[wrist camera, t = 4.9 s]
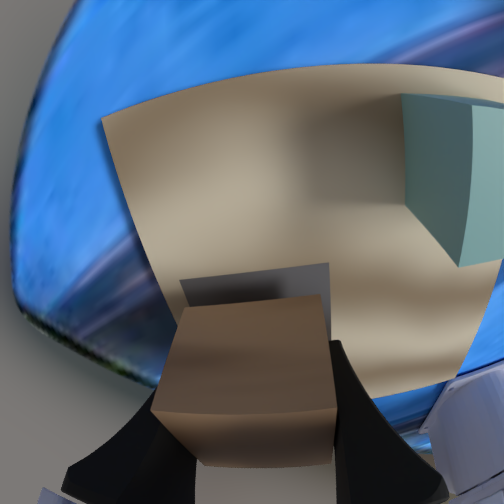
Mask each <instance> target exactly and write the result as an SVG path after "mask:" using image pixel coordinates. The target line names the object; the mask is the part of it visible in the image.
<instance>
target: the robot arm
mask: <svg viewBox="0 0 504 504" xmlns="http://www.w3.org/2000/svg"><path fill="white" fill-rule="evenodd" d="M328 343H329V350H330V357H331V364H332V371H333V378H334V386H335V394H336V402H337V415H336V426H335V436H334V449H335V466H336V495H337V504H441V503H443V502H445V501H447V500H448V499H449V492H450V493H453V494H456V496H459V495H461V496H459V497H457V498H455V499H452V500H451V501H449V504H504V360H503V361H500V362H498V363H495V364H493V365H490V366H487V367H485V368H482V369H479V370H476V371H474V372H471V373H468V374H465V375H462V376H459V377H456V378H454V379H451V380H449V381H448V382H447V383H446V385H445V387H444V389H443V391H442V392H441V394H440V396H439V398H438V400H437V401H436V403H435V405H434V406H433V408H432V410H431V411H430V413H429V415H428V416H427V418H426V419H425V421H424V423H423V424H422V426H421V427H420V429H419V430H418V431H419V434H423V433H427V432H428V434H429V438H430V442H431V447H432V451H433V455H434V460H435V465H436V470H437V471H436V470H435V469H434V468H433V467H431V466H430V465H429V464H428V463H427V462H426V461H425V460H423V459H422V458H421V457H420V456H419V455H418V454H417V453H416V452H415V451H414V450H413V449H412V448H411V447H410V446H409V445H408V444H407V443H406V442H405V441H404V440H403V439H402V438H401V436H400V435H399V434H398V433H397V432H396V431H395V430H394V429H393V427H392V426H391V425H390V424H389V423H388V421H387V420H386V419H385V417H384V416H383V415H382V414H381V412H380V411H379V409H378V408H377V407H376V405H375V404H374V402H373V401H372V399H371V398H370V396H369V395H368V393H367V392H366V390H365V389H364V387H363V385H362V383H361V382H360V380H359V378H358V377H357V375H356V373H355V371H354V369H353V368H352V366H351V364H350V362H349V360H348V358H347V355H346V353H345V351H344V348H343V346H342V343H341V341H340V340H331V341H328ZM157 387H158V386H157ZM157 387H156V389H155V390H154V392H153V393H152V394H151V396H150V397H149V398H148V399H147V401H146V402H145V403H144V404H143V406H142V407H141V408H140V409H139V411H138V412H137V413H136V414H135V415H134V416H133V418H132V419H131V420H130V421H129V422H128V423H127V424H126V425H125V426H124V427H123V428H122V429H121V430H119V431H118V432H117V433H116V434H115V435H114V436H113V437H112V438H111V439H110V440H109V441H107V442H106V443H105V444H103V445H102V446H101V447H99V448H98V449H97V450H95V451H94V452H93V453H91V454H90V455H88V456H87V457H85V458H84V459H82V460H80V461H79V462H77V463H75V464H73V465H72V466H70V467H68V470H67V472H66V476H65V478H64V481H63V484H62V487H61V491H62V492H64V493H66V494H68V495H70V496H72V497H74V498H76V499H78V500H80V501H82V502H84V503H87V504H195V477H196V463H197V458H196V457H195V456H194V455H193V454H192V453H191V452H190V451H188V450H187V449H186V448H185V447H184V446H183V445H182V444H181V443H180V442H179V441H178V440H177V439H176V438H175V437H174V436H173V434H172V433H171V432H170V431H169V430H168V429H167V428H166V427H165V426H164V425H163V424H162V423H161V422H160V421H159V420H158V418H157V417H156V416H155V415H154V414H153V413H152V412H151V411H150V409H151V406H152V403H153V400H154V396H155V393H156V390H157ZM462 494H463V495H462ZM37 504H76V503H74V502H72V501H70V500H67V499H65V498H63V497H61V496H59V495H57V494H55V493H53V492H52V491H49V490H48V489H46V488H42V491H41V494H40V497H39V500H38V503H37Z"/></svg>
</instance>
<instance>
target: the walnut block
mask: <svg viewBox="0 0 504 504" xmlns="http://www.w3.org/2000/svg"><path fill="white" fill-rule="evenodd" d="M150 411H151V412H152V413H153V414H154V415H155V416H156V417H157V418H158V420H159V421H160V422H161V423H162V424H163V425H164V426H165V427H166V428H167V429H168V430H169V431H170V432H171V433H172V434H173V436H174V437H175V438H176V439H177V440H178V441H179V442H180V443H181V444H182V445H183V446H184V447H185V448H186V449H187V450H188V451H190V452H191V453H192V454H193V455H194V456H195V457H196V458H197V459H198V460H199V461H200V462H201V463H202V464H203V465H205V466H214V467H231V468H284V467H301V466H312V465H323V464H331V460H332V453H333V445H334V436H335V426H336V415H337V402H336V394H335V386H334V378H333V371H332V364H331V357H330V350H329V343H328V337H327V330H326V324H325V318H324V312H323V306H322V301H321V295H320V294H315V295H307V296H299V297H291V298H282V299H273V300H263V301H253V302H243V303H233V304H221V305H209V306H197V307H185V308H184V310H183V313H182V316H181V319H180V322H179V325H178V327H177V330H176V333H175V336H174V339H173V342H172V345H171V348H170V351H169V354H168V357H167V360H166V363H165V366H164V369H163V372H162V375H161V378H160V381H159V384H158V387H157V390H156V393H155V396H154V400H153V403H152V406H151V409H150Z"/></svg>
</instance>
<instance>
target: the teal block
mask: <svg viewBox="0 0 504 504" xmlns="http://www.w3.org/2000/svg"><path fill="white" fill-rule="evenodd" d="M401 102H402V113H403V126H404V143H405V206H406V207H407V208H408V209H409V210H410V211H411V212H412V213H413V214H414V216H415V217H416V218H417V219H418V220H419V221H420V222H421V223H422V224H423V226H424V227H425V228H426V229H427V230H428V231H429V232H430V234H431V235H432V236H433V237H434V238H435V239H436V241H437V242H438V243H439V244H440V245H441V247H442V248H443V249H444V250H445V252H446V253H447V254H448V255H449V257H450V258H451V259H452V260H453V262H454V263H455V264H456V265H457V267H458V268H459V267H465V266H470V265H475V264H480V263H485V262H490V261H494V260H499V259H504V103H500V102H495V101H491V100H485V99H478V98H469V97H460V96H449V95H435V94H413V93H401Z"/></svg>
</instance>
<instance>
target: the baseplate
mask: <svg viewBox="0 0 504 504" xmlns="http://www.w3.org/2000/svg"><path fill="white" fill-rule="evenodd" d="M401 93H413V94H435V95H449V96H460V97H469V98H478V99H485V100H491V101H495V102H500V103H504V78H500V77H495V76H490V75H486V74H480V73H475V72H469V71H463V70H456V69H449V68H440V67H431V66H419V65H403V64H340V65H323V66H311V67H301V68H292V69H284V70H276V71H270V72H263V73H257V74H251V75H246V76H240V77H235V78H230V79H226V80H221V81H216V82H212V83H208V84H204V85H200V86H196V87H192V88H188V89H185V90H181V91H177V92H174V93H171V94H167V95H164V96H161V97H158V98H154V99H151V100H148V101H145V102H142V103H140V104H137V105H134V106H131V107H128V108H126V109H123V110H120V111H118V112H115V113H113V114H110V115H108V116H105V117H103V118H101V119H102V123H103V127H104V131H105V134H106V138H107V141H108V145H109V148H110V152H111V155H112V158H113V162H114V165H115V168H116V171H117V174H118V178H119V181H120V184H121V187H122V190H123V193H124V196H125V198H126V201H127V204H128V207H129V210H130V213H131V215H132V218H133V221H134V224H135V226H136V229H137V232H138V234H139V237H140V240H141V242H142V245H143V247H144V250H145V252H146V255H147V257H148V260H149V262H150V265H151V267H152V269H153V272H154V274H155V277H156V279H157V281H158V284H159V286H160V288H161V290H162V293H163V295H164V297H165V299H166V302H167V304H168V306H169V308H170V311H171V313H172V315H173V317H174V319H175V321H176V323H177V325H179V322H180V319H181V316H182V313H183V310H184V308H185V307H197V306H209V305H221V304H233V303H243V302H253V301H263V300H273V299H282V298H291V297H299V296H307V295H315V294H320V295H321V301H322V306H323V312H324V318H325V324H326V330H327V337H328V341H331V340H340V341H341V343H342V346H343V348H344V351H345V353H346V355H347V358H348V360H349V362H350V364H351V366H352V368H353V369H354V371H355V373H356V375H357V377H358V378H359V380H360V382H361V383H362V385H363V387H364V389H365V390H366V392H367V393H368V395H369V396H370V398H371V399H373V398H379V397H384V396H388V395H393V394H398V393H402V392H406V391H411V390H415V389H419V388H422V387H426V386H430V385H434V384H437V383H441V382H444V381H447V380H451V379H454V378H455V377H456V375H457V373H458V371H459V369H460V367H461V365H462V363H463V361H464V359H465V357H466V355H467V353H468V351H469V349H470V346H471V344H472V342H473V340H474V338H475V335H476V333H477V331H478V328H479V326H480V323H481V321H482V318H483V316H484V313H485V311H486V308H487V305H488V302H489V300H490V297H491V294H492V291H493V288H494V285H495V282H496V278H497V275H498V272H499V268H500V265H501V261H502V259H499V260H494V261H490V262H485V263H480V264H475V265H470V266H465V267H459V268H458V267H457V265H456V264H455V263H454V262H453V260H452V259H451V258H450V257H449V255H448V254H447V253H446V252H445V250H444V249H443V248H442V247H441V245H440V244H439V243H438V242H437V241H436V239H435V238H434V237H433V236H432V235H431V234H430V232H429V231H428V230H427V229H426V228H425V227H424V226H423V224H422V223H421V222H420V221H419V220H418V219H417V218H416V217H415V216H414V214H413V213H412V212H411V211H410V210H409V209H408V208H407V207H406V206H405V143H404V126H403V113H402V102H401Z"/></svg>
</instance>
